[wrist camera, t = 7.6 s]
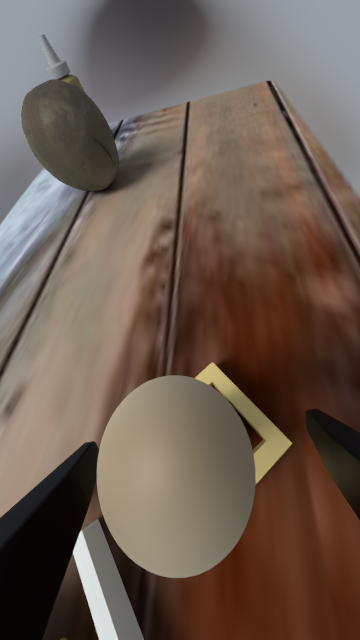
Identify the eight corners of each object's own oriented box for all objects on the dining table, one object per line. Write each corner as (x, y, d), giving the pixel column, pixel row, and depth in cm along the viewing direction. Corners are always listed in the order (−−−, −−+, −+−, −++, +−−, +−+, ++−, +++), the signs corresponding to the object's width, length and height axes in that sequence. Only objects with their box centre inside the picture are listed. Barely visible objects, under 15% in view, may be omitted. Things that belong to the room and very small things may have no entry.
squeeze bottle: (96, 154, 51) (39, 37, 36) (75, 155, 54) (15, 47, 39) (113, 138, 54) (67, 23, 39) (93, 140, 57) (43, 33, 42)
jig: (400, 558, 11) (430, 582, 10) (71, 1039, 8) (26, 1213, 6) (211, 364, 19) (209, 358, 17) (0, 560, 15) (-28, 577, 14)
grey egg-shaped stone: (119, 163, 46) (76, 60, 33) (138, 187, 39) (92, 67, 26) (64, 190, 45) (-1, 96, 32) (73, 219, 38) (-6, 114, 25)
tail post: (244, 437, 16) (296, 475, 4) (212, 471, 15) (153, 643, 3) (213, 401, 18) (180, 348, 6) (183, 430, 17) (74, 442, 5)
